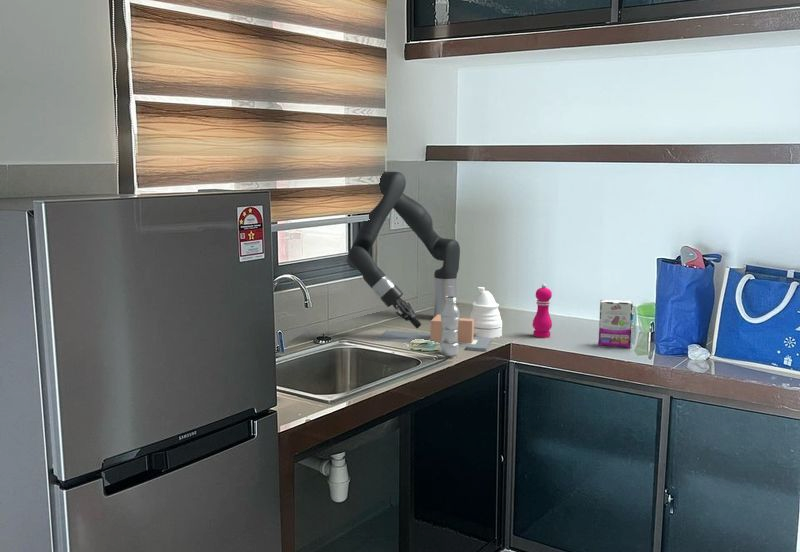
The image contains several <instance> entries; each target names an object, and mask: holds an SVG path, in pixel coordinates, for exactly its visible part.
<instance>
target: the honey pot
mask: <svg viewBox="0 0 800 552" xmlns="http://www.w3.org/2000/svg"><path fill="white" fill-rule="evenodd" d="M477 289H478V292H479V293H480V295H478V297H477V299H476V301H474V302H472V303H471V304H472V307H473V308H472V310H471V311H470V316H469V318H468V319H474V336H473V337H487V338H492V339H496V338H495V337H498V338H500V336H501V337H502V336H503V320H502V318H501V313H500V311H499V305H500V304H499V303H497V302H496V300H495V297H494V296H493V294H492V293H491V292H490V291H488V290H485V289H486V288H485V286H484V287H483V286H477Z"/></svg>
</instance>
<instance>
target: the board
mask: <svg viewBox="0 0 800 552" xmlns="http://www.w3.org/2000/svg"><path fill="white" fill-rule="evenodd" d="M430 338H431V332H430V333H429V332H413V331H402V330H401V331H400V330H387V329H386V330H385V331H384V332H382V333H381V334H380V335H378V336H377V337H376V338H375V339H374V341H377V342H378V341H381V342H392V343H406V344H411V343H410V342H411V341H412V340H415V339H424V340H430ZM492 342H493V338H487V337H473V342H472V343H459V342H458V344H459V348H464V351H476V352H487V351H488V350H489V347H490V346H491V344H490V343H492ZM438 346H440V344H439V345H438Z"/></svg>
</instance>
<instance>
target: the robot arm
mask: <svg viewBox="0 0 800 552" xmlns="http://www.w3.org/2000/svg"><path fill="white" fill-rule="evenodd" d="M383 172H384V173H383V174H382V176H381V178H380V183H379V186H380V190H381V193H382V194H383V195H384V196H383V198H382V197H381V199H380V201H379V202H378V204H376V206H375V207H374V208H373V209H371V211H370V212H369V213H368V214H369V219H370V220H368V221H364V220H363V221H362V222H361V225H360V227H359V229H358V232H357V233H356V237H355V240H354V242H353V243H352V246H351V249H349V250H348V253H347V256H346V263H347V265H348V266H349V267H350V268H351V269H353V270H358V272H360V273H361V275H362V278H363V280H364V282H365V283H366V284H367V285H368V286H369V287H370V288H371V289H372V290H373V292H374V293H375V295H376V296H377V297H378V298H379V299H380V300H381V302H383V304H384V305H385V306H386V307H388V308H390V307H391V306H393V308H394V310H395V311H396V312H395V314H397V316H399V317H400V318H402V319H403V320H405V321H407V322H409V323H411V324H412V325H413V326H414V327H415V329H419V328H420V327H421V326H422V323H421V321H420V320H419V319H418V318H417V317H416V313H415V311H414V310H413V308H412V306H411V304H410V303H409V302H406V300H404V299H402V298H401V297H402V296H403V295H404V293H403V291H402V290H401V289H400V288H399V287H398V286H397V285H396V283H394V282H393V280H392V279H391V278H389V277H388V276H387V275H386V274H385V272H384V271H383V270H381V268H380V267H379V266H378V265H377V263H376V262H375V260H374V259H373V257H372V256H371V254H370V253H371V252H370V251H371V249H372V247H373V245H374V244H375V242H376V241H377V237H378V235H379V233H380V230H381V229H382V227H383V225H384V223H385V221H386V219H387V218H388V216H389V215H390V213H391V212H392V210H394V211H395V212H396V213H397V215H399V216H400V218H401V219H402V220H403V221H404V222H405V224H406V225H407V226H408V227H409V228H410V230H412V232H414V233H415V235H416V236H417V237H418V239H420V241H421V242H422V243H423V245H424V246H425V247H426V249H427V251H428V253H430V255H431V256H432V257H433V258H434V259H435V260H437V261H441V262H442V266H441V267H440V268H438V269H436V270H435V271H434V273H433V274H434V275H433V276H434V277H433V312H432V313H433V317H432V319H433V318H434V317H435V316H437V315H438V314H439V315H441V310H442V308H443V307H444V305H445V304H446V303H445V297H446V296H454V297H456V298H457V286H458V285H457V284H458V281H457V280H458V278H457V277H458V273H459V269H460V259H461V258H460V256H461V247H460V244H459V242H458V241H457V240H456V239H453V238H443V237H441V236H440V235H438V233H437V232H436V231H435V230H434V228H433V218H432V216H431V214H430V213H429V212H428V210H426V208H425V207H424V206H423V205H422V204H421V203H419V202H418V201H416V200H414V199H413V198H412V197H409V196H408V195H406V194H405V193H404V191H405V190H406V185H407V181H406V177H405V176H404V173H402V172H399V171H383ZM455 304H456V305H457V302H456V303H455Z"/></svg>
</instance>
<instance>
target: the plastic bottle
mask: <svg viewBox="0 0 800 552" xmlns="http://www.w3.org/2000/svg"><path fill="white" fill-rule="evenodd" d="M445 303H446V304H445V305H444V307H443V308H442V310H441V322H442V336H441V343H440V345H439V353H440V354H441V356H444V357H449V358H452V357H457V355H458V354H459V352H460V347H459V344H458V323H459V318H460V316H461V313H460V310H459V307H458V306H457V296H456V297H454V296H446V297H445ZM455 303H456V304H455Z"/></svg>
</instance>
